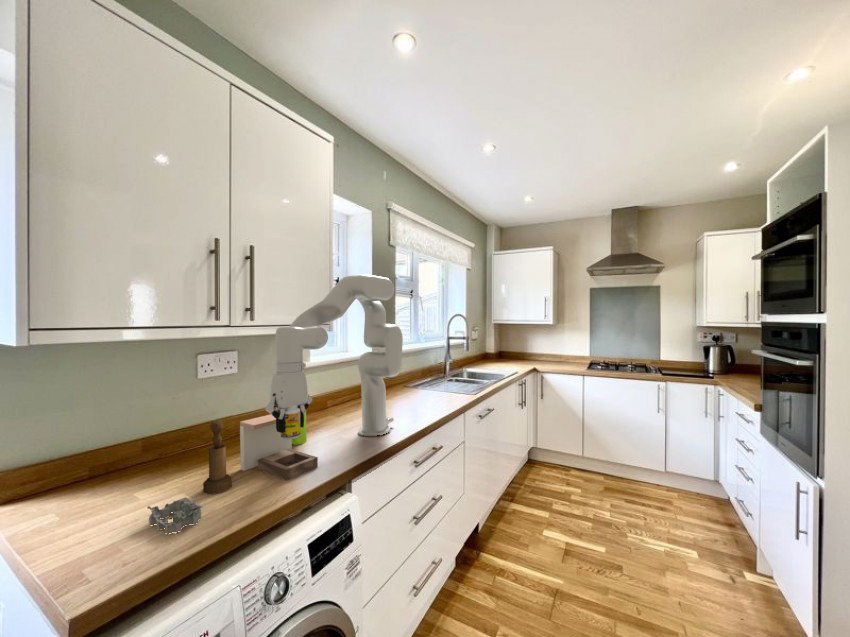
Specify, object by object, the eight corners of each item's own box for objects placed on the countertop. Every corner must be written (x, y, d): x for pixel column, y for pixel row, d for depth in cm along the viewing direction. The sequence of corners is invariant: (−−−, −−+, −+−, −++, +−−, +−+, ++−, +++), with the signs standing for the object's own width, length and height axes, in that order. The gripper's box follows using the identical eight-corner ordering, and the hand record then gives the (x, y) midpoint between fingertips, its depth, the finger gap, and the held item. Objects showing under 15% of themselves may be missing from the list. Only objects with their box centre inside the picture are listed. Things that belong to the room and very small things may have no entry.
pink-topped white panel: (288, 452, 119) (287, 410, 120) (302, 457, 115) (301, 413, 115) (240, 469, 106) (239, 421, 106) (254, 474, 102) (253, 425, 102)
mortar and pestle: (237, 485, 95) (236, 418, 96) (215, 496, 89) (214, 424, 90) (220, 481, 98) (219, 416, 98) (197, 492, 92) (196, 422, 92)
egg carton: (145, 525, 78) (144, 506, 78) (183, 509, 84) (183, 492, 84) (166, 539, 72) (166, 519, 72) (205, 521, 78) (205, 503, 78)
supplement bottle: (277, 440, 102) (277, 405, 102) (284, 434, 108) (283, 401, 108) (297, 439, 103) (297, 404, 103) (302, 434, 108) (302, 400, 108)
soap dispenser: (283, 444, 128) (282, 388, 128) (298, 438, 134) (297, 385, 134) (295, 446, 125) (294, 389, 125) (309, 440, 131) (308, 386, 132)
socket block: (289, 458, 114) (289, 448, 114) (317, 467, 106) (317, 457, 106) (258, 469, 106) (257, 459, 106) (286, 480, 98) (286, 469, 98)
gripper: (306, 364, 115) (306, 420, 114) (254, 370, 101) (255, 435, 100) (321, 365, 110) (322, 424, 110) (270, 372, 96) (270, 439, 96)
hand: (290, 428), depth 105 cm, fingers closed on supplement bottle, 5 cm apart
